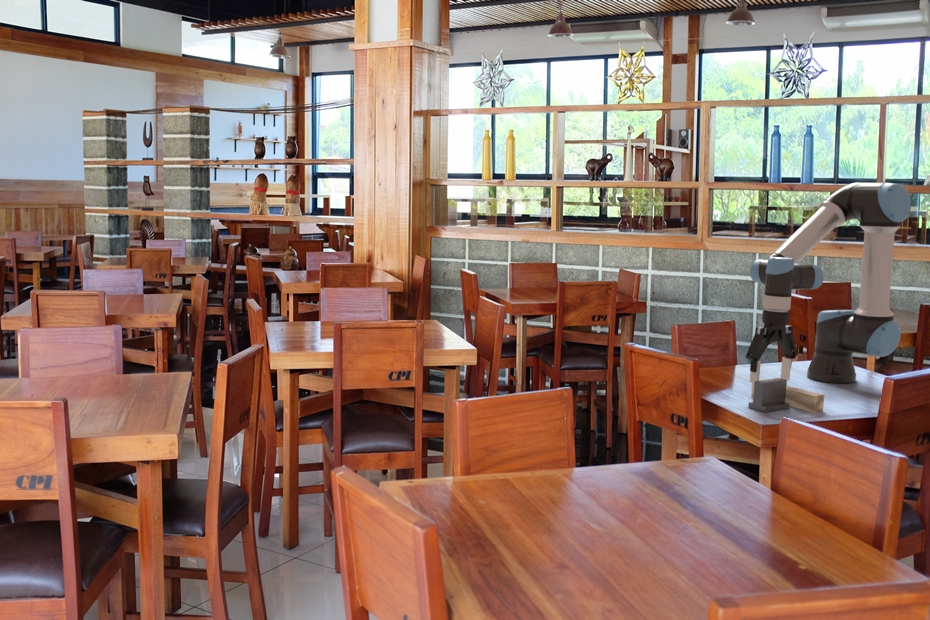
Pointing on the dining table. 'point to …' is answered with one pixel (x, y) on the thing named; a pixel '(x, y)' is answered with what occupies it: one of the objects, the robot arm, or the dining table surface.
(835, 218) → the robot arm
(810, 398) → the ash bar
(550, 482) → the dining table surface
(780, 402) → the gray pedestal stand
